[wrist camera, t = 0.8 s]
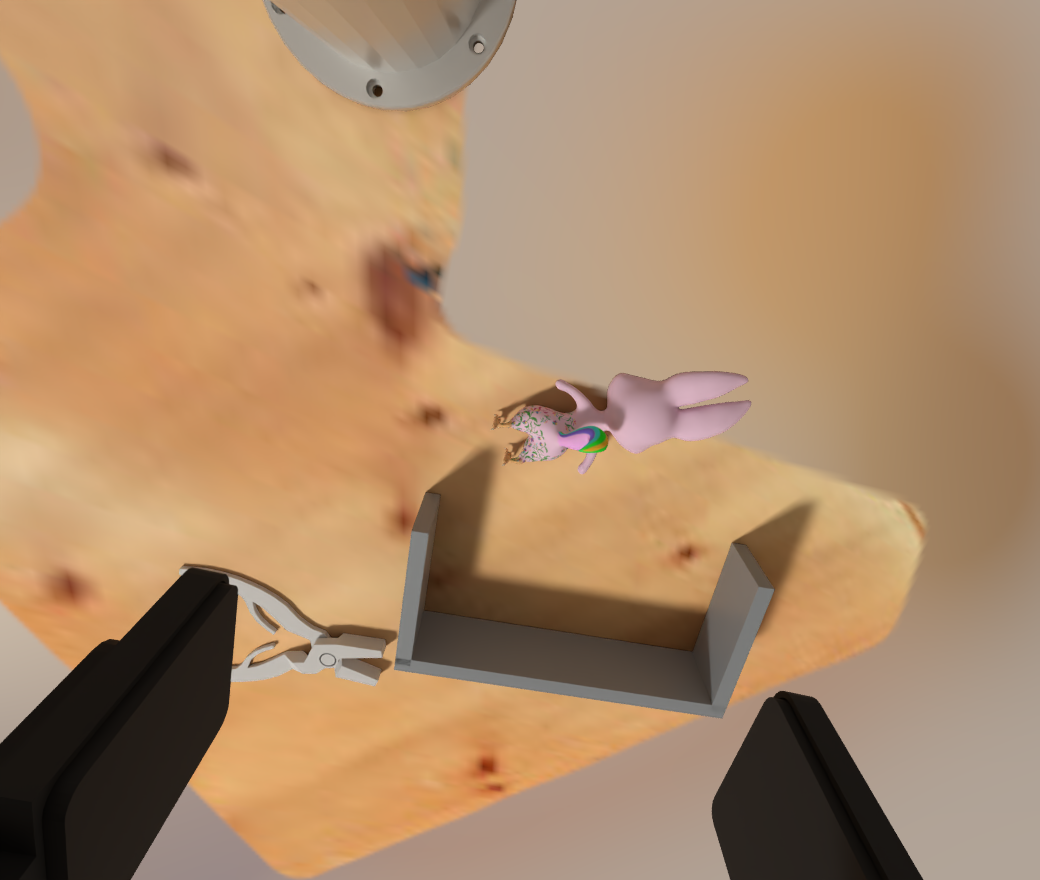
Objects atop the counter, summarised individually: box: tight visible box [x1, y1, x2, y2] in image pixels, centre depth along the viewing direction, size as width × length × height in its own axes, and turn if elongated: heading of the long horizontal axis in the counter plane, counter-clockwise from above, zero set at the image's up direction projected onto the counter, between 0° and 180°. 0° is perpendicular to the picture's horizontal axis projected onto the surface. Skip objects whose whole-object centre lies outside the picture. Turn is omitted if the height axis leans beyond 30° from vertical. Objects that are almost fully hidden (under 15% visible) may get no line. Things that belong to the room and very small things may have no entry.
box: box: [394, 492, 775, 718], centre depth 39 cm, size 10×22×5 cm, turn 80°
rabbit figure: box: [491, 371, 751, 474], centre depth 34 cm, size 6×6×15 cm
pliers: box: [179, 566, 386, 686], centre depth 43 cm, size 10×2×15 cm
